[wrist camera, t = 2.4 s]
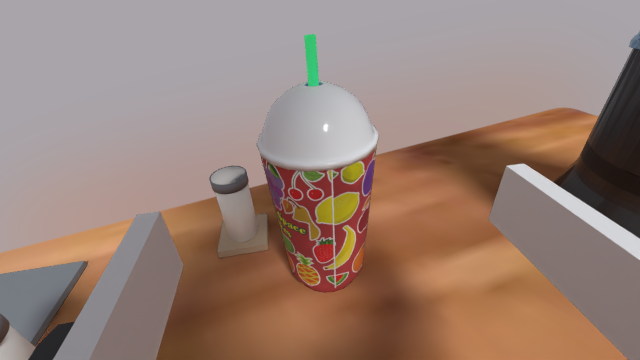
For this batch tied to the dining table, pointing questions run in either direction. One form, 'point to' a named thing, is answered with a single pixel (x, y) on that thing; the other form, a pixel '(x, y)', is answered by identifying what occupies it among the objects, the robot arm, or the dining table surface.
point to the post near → (13, 343)
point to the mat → (36, 296)
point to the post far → (238, 214)
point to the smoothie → (320, 177)
